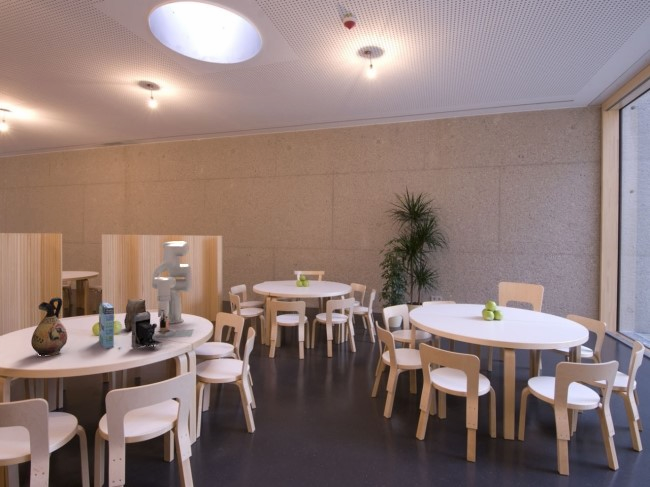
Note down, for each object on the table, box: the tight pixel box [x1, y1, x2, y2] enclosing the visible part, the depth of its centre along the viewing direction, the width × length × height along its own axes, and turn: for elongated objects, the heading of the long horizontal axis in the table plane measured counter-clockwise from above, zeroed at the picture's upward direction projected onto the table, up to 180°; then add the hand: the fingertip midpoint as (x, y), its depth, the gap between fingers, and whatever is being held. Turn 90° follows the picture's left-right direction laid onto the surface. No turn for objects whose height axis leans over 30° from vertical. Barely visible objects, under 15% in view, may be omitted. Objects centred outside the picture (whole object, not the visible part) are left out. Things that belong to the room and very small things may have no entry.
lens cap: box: [159, 318, 170, 331], centre depth 230 cm, size 7×5×7 cm
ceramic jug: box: [30, 296, 68, 357], centre depth 196 cm, size 17×15×30 cm
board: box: [152, 328, 195, 340], centre depth 231 cm, size 18×24×2 cm
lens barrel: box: [153, 328, 177, 337], centre depth 230 cm, size 13×13×2 cm
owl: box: [124, 298, 147, 333], centre depth 249 cm, size 13×13×20 cm
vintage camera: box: [131, 310, 162, 351], centre depth 206 cm, size 10×16×20 cm, turn 58°
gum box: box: [98, 302, 115, 349], centre depth 214 cm, size 20×5×23 cm, turn 39°
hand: (164, 326), depth 230 cm, fingers closed on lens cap, 6 cm apart
